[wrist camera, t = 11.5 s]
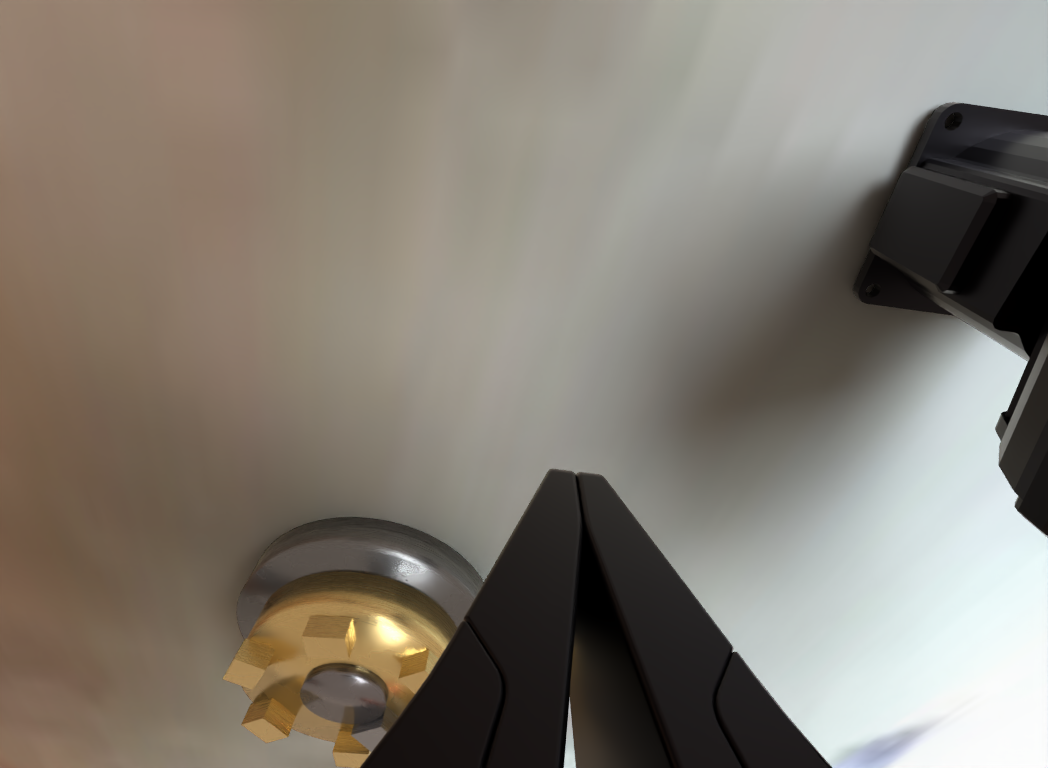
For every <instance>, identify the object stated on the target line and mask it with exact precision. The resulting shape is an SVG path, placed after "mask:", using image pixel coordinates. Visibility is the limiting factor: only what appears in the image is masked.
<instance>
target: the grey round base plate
mask: <svg viewBox="0 0 1048 768" xmlns="http://www.w3.org/2000/svg"><path fill="white" fill-rule="evenodd" d="M335 571H340V572H358V573H366V574H372V575H377V576H381V577H385V578H388V579H392V580H395V581H397V582H400V583H402V584H405V585H407V586H409V587H411V588H414V589H416V590H418V591H419V592H421V593H423V594H424V595H426V596H428V597H429V598H431V599H432V600H433V601H434V602H436V603H437V604H438V605H439V606H441V607H442V608H443V609H444V610H445V611H446V612H447V613H448V615H449V616H450V617H451V619H452V620H453V621H454V623H455V625H456V626H457V628H458V626H459V624H460V623H461V622H462V621H463V620H464V616H465V614H466V613H467V611H468V609H469V608H470V606H471V604H472V602H473V601H474V599H475V597H476V595H477V594H478V592H479V590H480V588H481V587H482V585H483V583H484V582H483V581H482V579H481V577H480V576H479V574H478V573H477V572H476V570H475V569H474V568H473V567H472V566H471V565H470V564H469V563H468V562H467V561H466V560H465V559H464V558H463V557H462V556H461V555H460V554H458V553H457V552H456V551H455V550H453V549H452V548H451V547H449V546H448V545H446V544H444V543H443V542H441V541H439V540H438V539H436V538H434V537H432V536H430V535H428V534H425V533H423V532H421V531H418V530H416V529H413V528H410V527H407V526H404V525H400V524H397V523H393V522H389V521H383V520H377V519H370V518H356V517H352V518H333V519H325V520H320V521H316V522H312V523H308V524H305V525H302V526H300V527H297V528H294V529H292V530H291V531H289V532H287V533H285V534H283V535H282V536H280V537H279V538H278V539H277V540H275V541H274V542H273V543H272V544H271V545H270V546H269V547H268V548H267V549H266V550H265V552H264V553H263V555H262V557H261V558H260V560H259V562H258V564H257V565H256V567H255V569H254V570H253V572H252V574H251V576H250V577H249V579H248V581H247V583H246V584H245V586H244V588H243V589H242V591H241V593H240V596H239V599H238V603H237V620H238V625H239V628H240V631H241V634H242V636H243V638H244V640H245V638H246V639H247V638H248V636H249V634H250V632H251V630H252V628H253V626H254V624H255V623H256V621H257V619H258V617H259V615H260V613H261V611H262V609H263V607H264V605H265V603H266V602H267V600H268V599H269V598H270V596H271V595H272V594H273V593H274V592H276V591H277V590H278V589H279V588H281V587H282V586H284V585H285V584H287V583H289V582H291V581H293V580H295V579H298V578H301V577H304V576H307V575H312V574H317V573H323V572H335Z"/></svg>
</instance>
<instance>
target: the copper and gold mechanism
mask: <svg viewBox="0 0 1048 768" xmlns="http://www.w3.org/2000/svg"><path fill="white" fill-rule="evenodd" d="M456 629H457V626H456V625H455V623H454V621H453V620H452V619H451V617H450V616H449V615H448V613H447V612H446V611H445V610H444V609H443V608H442V607H441V606H439V605H438V604H437V603H436V602H434V601H433V600H432V599H431V598H429V597H428V596H426V595H424V594H423V593H421V592H419V591H418V590H416V589H414V588H411V587H409V586H407V585H405V584H402V583H400V582H397V581H395V580H392V579H388V578H385V577H381V576H377V575H372V574H366V573H358V572H340V571H335V572H323V573H317V574H312V575H307V576H304V577H301V578H298V579H295V580H293V581H291V582H289V583H287V584H285V585H284V586H282V587H281V588H279V589H278V590H277V591H276V592H274V593H273V594H272V595H271V596H270V598H269V599H268V600H267V602H266V603H265V605H264V607H263V609H262V611H261V613H260V615H259V617H258V619H257V621H256V623H255V624H254V626H253V628H252V630H251V632H250V634H249V636H248V638H247V639H246V638H245V640H244V642H243V643H242V645H241V647H240V648H239V650H238V652H237V653H236V655H235V657H234V658H233V660H232V662H231V664H230V666H229V668H228V670H227V672H226V674H225V675H224V677H223V679H224V680H227V681H229V682H232V683H235V684H238V685H241V686H242V688H243V690H244V691H245V693H246V694H247V696H248V697H249V698H250V699H251V700H252V702H253V703H252V704H251V705H250V707H249V709H248V711H247V714H246V716H245V718H244V720H243V722H242V724H241V725H242V726H244V727H245V728H246V729H248V730H249V731H250V732H252V733H253V734H255V735H256V736H257V737H259V738H260V739H261V740H263V741H264V742H266V743H268V742H272V741H276V740H279V739H283V738H286V737H288V736H289V733H290V731H291V728H292V729H294V730H296V731H298V732H301V733H304V734H306V735H309V736H312V737H316V738H319V739H322V740H327V741H331V742H336V743H335V746H334V749H333V756H334V759H335V763H336V766H339V767H354V768H360V766H361V765H362V764H363V762H364V761H365V760H366V759H367V757H368V756H369V755H370V753H371V752H372V751H373V749H374V748H375V747H376V746H377V744H378V743H379V742H380V740H381V739H382V738H383V737H384V735H385V734H386V733H387V731H388V730H389V729H390V727H391V726H392V725H393V724H394V722H395V721H396V720H397V718H398V717H399V716H400V714H401V713H402V712H403V710H404V709H405V707H406V706H407V705H408V703H409V702H410V701H411V699H412V698H413V696H414V695H415V694H416V692H417V691H418V689H419V688H420V687H421V685H422V684H423V682H424V681H425V680H426V678H427V677H428V675H429V674H430V672H431V670H432V669H433V667H434V666H435V664H436V662H437V661H438V659H439V658H440V656H441V654H442V653H443V651H444V650H445V648H446V646H447V645H448V643H449V642H450V640H451V638H452V636H453V635H454V633H455V631H456Z"/></svg>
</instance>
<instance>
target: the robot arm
mask: <svg viewBox="0 0 1048 768" xmlns="http://www.w3.org/2000/svg"><path fill="white" fill-rule="evenodd" d="M952 113H953V114H954V116H955V117H954V121H953V123H952V124H951V125H950V126H949V127H948V128H945V126H944V124H945V120H946V119H947V117H948V116H949V115H950V114H952ZM870 248H871V249H870V251H869V253H868V255H867V258H866V260H865V262H864V264H863V266H862V269H861V271H860V273H859V275H858V277H857V280H856V282H855V284H854V287H853V293H854V295H855V296H856V297H857V298H858V299H859V300H860V301H862V302H864V303H867V304H873V305H881V306H888V307H896V308H903V309H910V310H918V311H925V312H933V313H940V314H947V315H955V316H956V317H958V318H959V319H961V320H963V321H964V322H966V323H967V324H969V325H971V326H972V327H974V328H975V329H977V330H979V331H980V332H982V333H983V334H985V335H987V336H988V337H990V338H991V339H993V340H995V341H996V342H998V343H999V344H1001V345H1003V346H1004V347H1006V348H1007V349H1009V350H1010V351H1012V352H1014V353H1015V354H1017V355H1018V356H1020V357H1022V358H1023V359H1025V360H1026V361H1028V363H1027V366H1026V368H1025V370H1024V373H1023V375H1022V377H1021V380H1020V382H1019V385H1018V387H1017V389H1016V392H1015V394H1014V396H1013V399H1012V401H1011V403H1010V406H1009V408H1008V410H1007V411H1006V412H1003V413H1001V416H1000V418H999V420H998V423H997V425H996V427H995V430H996V432H997V434H998V436H999V438H1000V440H1001V443H1000V446H999V467H1000V468H1001V470H1002V472H1003V474H1004V475H1005V477H1006V479H1007V480H1008V482H1009V484H1010V485H1011V487H1012V489H1013V490H1014V492H1015V493H1016V494H1017V495H1018V498H1017V500H1016V502H1015V508H1016V509H1017V511H1018V512H1019V513H1020V514H1021V515H1022V516H1023V517H1024V518H1025V519H1026V520H1028V521H1029V522H1030V523H1031V524H1032V525H1033V526H1035V527H1036V528H1037V529H1038V530H1039V531H1040V532H1042V533H1043V534H1044V535H1045V536H1046V537H1048V116H1046V115H1039V114H1032V113H1025V112H1019V111H1012V110H1005V109H998V108H991V107H985V106H978V105H971V104H964V103H955V102H952V103H946V104H944V105H941V106H940V107H939V108H937V109H936V110H935V111H934V112H933V114H932V115H931V117H930V119H929V121H928V123H927V125H926V128H925V130H924V132H923V134H922V136H921V139H920V141H919V143H918V145H917V147H916V150H915V152H914V154H913V156H912V158H911V161H910V163H909V165H908V167H907V169H906V170H905V171H904V172H902V174H901V175H900V177H899V180H898V182H897V184H896V186H895V189H894V191H893V193H892V195H891V197H890V200H889V202H888V204H887V206H886V209H885V211H884V213H883V215H882V217H881V220H880V222H879V224H878V226H877V228H876V231H875V233H874V235H873V237H872V240H871V242H870ZM872 284H875V288H874V289H873V290H872V291H871V292H869V293H866V289H867V288H868V286H870V285H872ZM732 652H733V646H732V645H731V643H730V642H729V641H728V639H727V638H726V637H725V635H724V634H723V633H722V632H721V630H720V629H719V628H718V626H717V625H716V624H715V622H714V621H713V620H712V618H711V617H710V616H709V614H708V613H707V612H706V610H705V609H704V608H703V607H702V605H701V604H700V603H699V601H698V600H697V599H696V597H695V596H694V595H693V593H692V592H691V591H690V589H689V588H688V587H687V585H686V584H685V583H684V582H683V580H682V579H681V578H680V576H679V575H678V574H677V572H676V571H675V570H674V568H673V567H672V566H671V564H670V563H669V562H668V560H667V559H666V558H665V557H664V555H663V554H662V553H661V551H660V550H659V549H658V547H657V546H656V545H655V543H654V542H653V541H652V539H651V538H650V537H649V536H648V534H647V533H646V532H645V530H644V529H643V528H642V526H641V525H640V524H639V522H638V521H637V520H636V518H635V517H634V516H633V514H632V513H631V512H630V511H629V509H628V508H627V507H626V505H625V504H624V503H623V501H622V500H621V499H620V497H619V496H618V495H617V493H616V492H615V491H614V489H613V488H612V487H611V486H610V484H609V483H608V482H607V480H606V479H605V478H604V477H603V476H602V475H599V474H592V473H584V472H579V473H577V474H576V475H575V473H574V472H573V471H567V470H559V469H550V470H549V471H548V472H547V474H546V476H545V477H544V479H543V481H542V483H541V484H540V486H539V488H538V489H537V491H536V493H535V495H534V496H533V498H532V500H531V502H530V503H529V505H528V507H527V509H526V510H525V512H524V514H523V516H522V517H521V519H520V521H519V522H518V524H517V526H516V528H515V529H514V531H513V533H512V535H511V536H510V538H509V540H508V542H507V543H506V545H505V547H504V549H503V550H502V552H501V554H500V555H499V557H498V559H497V561H496V562H495V564H494V566H493V568H492V569H491V571H490V573H489V575H488V576H487V578H486V580H485V582H484V583H483V585H482V587H481V588H480V590H479V592H478V594H477V595H476V597H475V599H474V601H473V602H472V604H471V606H470V608H469V609H468V611H467V613H466V614H465V616H464V620H463V621H462V622H461V623H460V624H459V626H458V628H457V629H456V631H455V633H454V635H453V636H452V638H451V640H450V642H449V643H448V645H447V646H446V648H445V650H444V651H443V653H442V654H441V656H440V658H439V659H438V661H437V662H436V664H435V666H434V667H433V669H432V670H431V672H430V674H429V675H428V677H427V678H426V680H425V681H424V682H423V684H422V685H421V687H420V688H419V689H418V691H417V692H416V694H415V695H414V696H413V698H412V699H411V701H410V702H409V703H408V705H407V706H406V707H405V709H404V710H403V712H402V713H401V714H400V716H399V717H398V718H397V720H396V721H395V722H394V724H393V725H392V726H391V727H390V729H389V730H388V731H387V733H386V734H385V735H384V737H383V738H382V739H381V740H380V742H379V743H378V744H377V746H376V747H375V748H374V749H373V751H372V752H371V753H370V755H369V756H368V757H367V759H366V760H365V761H364V762H363V764H362V765H361V766H360V768H564V757H565V745H566V732H567V720H568V708H569V696H570V705H571V716H572V727H573V738H574V750H575V761H576V768H832V767H831V766H830V764H829V763H828V762H827V761H826V760H825V759H824V758H823V756H822V755H821V754H820V753H819V752H818V751H817V750H816V748H815V747H814V746H813V745H812V744H811V743H810V741H809V740H808V739H807V738H806V737H805V736H804V734H803V733H802V732H801V731H800V730H799V729H798V728H797V726H796V725H795V724H794V723H793V722H792V721H791V719H790V718H789V717H788V716H787V715H786V714H785V712H784V711H783V710H782V709H781V707H780V706H779V705H778V703H777V702H776V701H775V700H774V698H773V697H772V696H771V695H770V693H769V692H768V691H767V690H766V688H765V687H764V686H763V685H762V683H761V682H760V681H759V680H758V678H757V677H756V676H755V675H754V673H753V672H752V671H751V669H750V668H749V667H748V665H747V664H746V663H745V661H744V660H743V659H742V657H741V656H740V655H739V653H737V652H733V653H732Z"/></svg>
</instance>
